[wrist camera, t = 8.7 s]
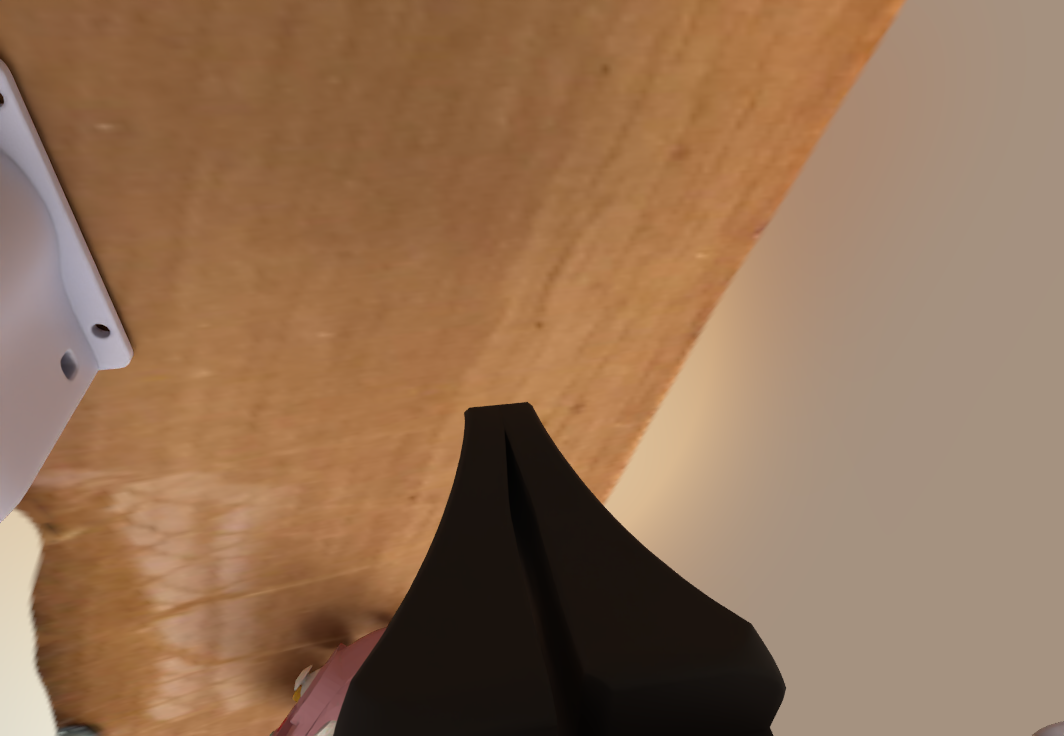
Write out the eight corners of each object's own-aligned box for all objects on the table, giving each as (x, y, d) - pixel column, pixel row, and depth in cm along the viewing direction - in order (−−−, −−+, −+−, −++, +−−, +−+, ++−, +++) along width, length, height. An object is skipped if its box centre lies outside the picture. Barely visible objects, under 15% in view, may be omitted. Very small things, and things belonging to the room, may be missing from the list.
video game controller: (362, 583, 34) (284, 697, 27) (436, 634, 34) (375, 759, 27) (292, 682, 38) (210, 800, 32) (358, 726, 38) (289, 852, 32)
